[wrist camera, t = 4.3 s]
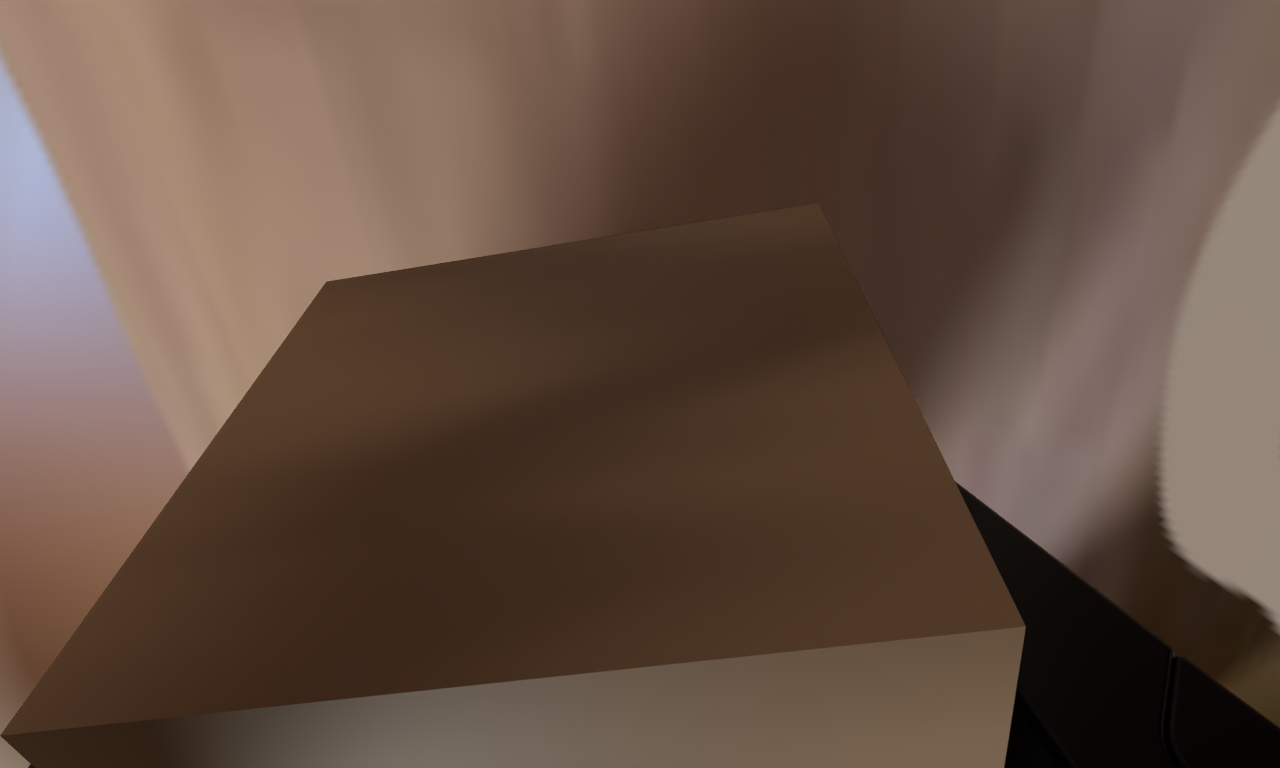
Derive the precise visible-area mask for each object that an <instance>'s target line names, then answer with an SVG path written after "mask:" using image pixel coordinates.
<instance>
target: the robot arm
mask: <svg viewBox="0 0 1280 768" xmlns="http://www.w3.org/2000/svg"><path fill="white" fill-rule="evenodd" d="M955 483H956V485H957V487H958V489H959V491H960V493H961V495H962V497H963V499H964V501H965V503H966V505H967V507H968V509H969V511H970V514H971V516H972V518H973V520H974V522H975V524H976V526H977V528H978V530H979V532H980V534H981V536H982V538H983V540H984V542H985V544H986V546H987V548H988V550H989V552H990V554H991V556H992V558H993V560H994V562H995V565H996V567H997V569H998V571H999V573H1000V575H1001V577H1002V579H1003V581H1004V583H1005V585H1006V587H1007V589H1008V591H1009V593H1010V595H1011V597H1012V599H1013V601H1014V603H1015V605H1016V607H1017V609H1018V611H1019V614H1020V616H1021V618H1022V620H1023V622H1024V624H1025V626H1026V629H1025V636H1024V642H1023V649H1022V655H1021V662H1020V668H1019V674H1018V681H1017V687H1016V694H1015V700H1014V707H1013V713H1012V720H1011V726H1010V733H1009V739H1008V746H1007V752H1006V759H1005V765H1004V768H1280V727H1278V726H1277V725H1275V724H1274V723H1273V722H1271V721H1270V720H1269V719H1267V718H1266V717H1265V716H1263V715H1262V714H1260V713H1259V712H1258V711H1256V710H1255V709H1254V708H1252V707H1251V706H1250V705H1248V704H1247V703H1245V702H1244V701H1243V700H1241V699H1240V698H1239V697H1237V696H1236V695H1234V694H1233V693H1232V692H1230V691H1229V690H1228V689H1226V688H1225V687H1224V686H1222V685H1221V684H1220V683H1218V682H1217V681H1216V680H1215V679H1213V678H1212V677H1211V676H1209V675H1208V674H1207V673H1205V672H1204V671H1203V670H1201V669H1200V668H1199V667H1198V666H1196V665H1195V664H1194V663H1192V662H1191V661H1190V660H1188V659H1187V658H1186V657H1184V656H1181V655H1180V656H1176V657H1175V658H1174V649H1173V648H1172V647H1171V646H1169V645H1168V644H1167V643H1166V642H1164V641H1163V640H1162V639H1160V638H1159V637H1158V636H1156V635H1155V634H1154V633H1153V632H1151V631H1150V630H1149V629H1147V628H1146V627H1145V626H1143V625H1142V624H1141V623H1139V622H1138V621H1137V620H1136V619H1134V618H1133V617H1132V616H1130V615H1129V614H1128V613H1126V612H1125V611H1124V610H1122V609H1121V608H1120V607H1119V606H1117V605H1116V604H1115V603H1113V602H1112V601H1111V600H1109V599H1108V598H1107V597H1105V596H1104V595H1103V594H1102V593H1100V592H1099V591H1098V590H1096V589H1095V588H1094V587H1092V586H1091V585H1090V584H1088V583H1087V582H1086V581H1085V580H1083V579H1082V578H1081V577H1079V576H1078V575H1077V574H1075V573H1074V572H1073V571H1072V570H1070V569H1069V568H1068V567H1066V566H1065V565H1064V564H1062V563H1061V562H1060V561H1058V560H1057V559H1056V558H1055V557H1053V556H1052V555H1051V554H1049V553H1048V552H1047V551H1045V550H1044V549H1043V548H1041V547H1040V546H1039V545H1038V544H1036V543H1035V542H1034V541H1032V540H1031V539H1030V538H1028V537H1027V536H1026V535H1024V534H1023V533H1022V532H1021V531H1019V530H1018V529H1017V528H1015V527H1014V526H1013V525H1011V524H1010V523H1009V522H1007V521H1006V520H1005V519H1004V518H1002V517H1001V516H1000V515H998V514H997V513H996V512H994V511H993V510H992V509H991V508H989V507H988V506H987V505H985V504H984V503H983V502H981V501H980V500H979V499H977V498H976V497H975V496H974V495H972V494H971V493H970V492H968V491H967V490H966V489H964V488H963V487H962V486H960V485H959V484H958V483H957V482H955ZM28 768H35V767H34V766H33V765H32V764H30V765H29V767H28Z"/></svg>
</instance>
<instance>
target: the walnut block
mask: <svg viewBox="0 0 1280 768" xmlns="http://www.w3.org/2000/svg"><path fill="white" fill-rule="evenodd" d="M1025 629H1026V626H1025V624H1024V622H1023V620H1022V618H1021V616H1020V614H1019V611H1018V609H1017V607H1016V605H1015V603H1014V601H1013V599H1012V597H1011V595H1010V593H1009V591H1008V589H1007V587H1006V585H1005V583H1004V581H1003V579H1002V577H1001V575H1000V573H999V571H998V569H997V567H996V565H995V562H994V560H993V558H992V556H991V554H990V552H989V550H988V548H987V546H986V544H985V542H984V540H983V538H982V536H981V534H980V532H979V530H978V528H977V526H976V524H975V522H974V520H973V518H972V516H971V514H970V511H969V509H968V507H967V505H966V503H965V501H964V499H963V497H962V495H961V493H960V491H959V489H958V487H957V485H956V483H955V481H954V479H953V477H952V475H951V473H950V471H949V469H948V467H947V465H946V462H945V460H944V458H943V456H942V454H941V452H940V450H939V448H938V446H937V444H936V442H935V440H934V438H933V436H932V434H931V432H930V430H929V428H928V426H927V424H926V422H925V420H924V418H923V416H922V414H921V411H920V409H919V407H918V405H917V403H916V401H915V399H914V397H913V395H912V393H911V391H910V389H909V387H908V385H907V383H906V381H905V379H904V377H903V375H902V373H901V371H900V369H899V367H898V365H897V362H896V360H895V358H894V356H893V354H892V352H891V350H890V348H889V346H888V344H887V342H886V340H885V338H884V336H883V334H882V332H881V330H880V328H879V326H878V324H877V322H876V320H875V318H874V316H873V313H872V311H871V309H870V307H869V305H868V303H867V301H866V299H865V297H864V295H863V293H862V291H861V289H860V287H859V285H858V283H857V281H856V279H855V277H854V275H853V273H852V271H851V269H850V267H849V265H848V262H847V260H846V258H845V256H844V254H843V252H842V250H841V248H840V246H839V244H838V242H837V240H836V238H835V236H834V234H833V232H832V230H831V228H830V226H829V224H828V222H827V220H826V218H825V216H824V213H823V211H822V209H821V207H820V205H819V203H813V204H807V205H801V206H794V207H788V208H782V209H776V210H770V211H763V212H757V213H751V214H745V215H738V216H732V217H726V218H720V219H714V220H707V221H701V222H695V223H689V224H682V225H676V226H670V227H664V228H658V229H651V230H645V231H639V232H633V233H627V234H620V235H614V236H608V237H602V238H595V239H589V240H583V241H577V242H571V243H564V244H558V245H552V246H546V247H540V248H533V249H527V250H521V251H515V252H508V253H502V254H496V255H490V256H484V257H477V258H471V259H465V260H459V261H452V262H446V263H440V264H434V265H428V266H421V267H415V268H409V269H403V270H397V271H390V272H384V273H378V274H372V275H365V276H359V277H353V278H347V279H341V280H334V281H328V282H326V283H325V284H324V286H323V287H322V289H321V290H320V291H319V293H318V294H317V296H316V297H315V298H314V300H313V301H312V303H311V304H310V305H309V307H308V308H307V310H306V311H305V312H304V314H303V315H302V316H301V318H300V319H299V321H298V322H297V323H296V325H295V326H294V328H293V329H292V330H291V332H290V333H289V335H288V336H287V337H286V339H285V340H284V342H283V343H282V344H281V346H280V347H279V348H278V350H277V351H276V353H275V354H274V355H273V357H272V358H271V360H270V361H269V362H268V364H267V365H266V367H265V368H264V369H263V371H262V372H261V374H260V375H259V376H258V378H257V379H256V380H255V382H254V383H253V385H252V386H251V387H250V389H249V390H248V392H247V393H246V394H245V396H244V397H243V399H242V400H241V401H240V403H239V404H238V406H237V407H236V408H235V410H234V411H233V412H232V414H231V415H230V417H229V418H228V419H227V421H226V422H225V424H224V425H223V426H222V428H221V429H220V431H219V432H218V433H217V435H216V436H215V438H214V439H213V440H212V442H211V443H210V444H209V446H208V447H207V449H206V450H205V451H204V453H203V454H202V456H201V457H200V458H199V460H198V461H197V463H196V464H195V465H194V467H193V468H192V470H191V471H190V472H189V474H188V475H187V476H186V478H185V479H184V481H183V482H182V484H181V485H180V486H179V488H178V489H177V490H176V492H175V493H174V495H173V496H172V497H171V499H170V500H169V502H168V503H167V504H166V506H165V507H164V509H163V510H162V511H161V513H160V514H159V515H158V517H157V518H156V520H155V521H154V522H153V524H152V525H151V527H150V528H149V529H148V531H147V532H146V534H145V535H144V536H143V538H142V539H141V541H140V542H139V543H138V545H137V546H136V548H135V549H134V550H133V552H132V553H131V554H130V556H129V557H128V559H127V560H126V561H125V563H124V564H123V566H122V567H121V568H120V570H119V571H118V573H117V574H116V575H115V577H114V578H113V579H112V581H111V582H110V584H109V585H108V587H107V588H106V589H105V591H104V592H103V594H102V595H101V596H100V598H99V599H98V600H97V602H96V603H95V605H94V606H93V607H92V609H91V610H90V611H89V613H88V614H87V616H86V617H85V619H84V620H83V621H82V623H81V624H80V625H79V627H78V628H77V630H76V631H75V632H74V634H73V635H72V636H71V638H70V640H69V641H68V642H67V643H66V645H65V646H64V648H63V649H62V650H61V652H60V653H59V655H58V656H57V658H56V659H55V660H54V662H53V663H52V664H51V666H50V667H49V668H48V670H47V671H46V673H45V674H44V676H43V677H42V678H41V680H40V681H39V682H38V684H37V685H36V687H35V688H34V689H33V691H32V692H31V694H30V695H29V697H28V698H27V699H26V700H25V702H24V703H23V705H22V706H21V708H20V709H19V710H18V712H17V713H16V714H15V716H14V717H13V719H12V720H11V722H10V723H9V724H8V726H7V727H6V728H5V730H4V731H3V732H2V734H1V737H2V738H3V739H4V740H6V741H7V742H8V743H9V744H10V745H11V746H12V747H13V748H14V749H15V750H16V751H18V752H19V753H20V754H21V755H22V756H23V757H24V758H25V759H26V760H27V761H28V762H29V763H31V764H32V765H33V766H34V767H35V768H1004V765H1005V759H1006V752H1007V746H1008V739H1009V733H1010V726H1011V720H1012V713H1013V707H1014V700H1015V694H1016V687H1017V681H1018V674H1019V668H1020V662H1021V655H1022V649H1023V642H1024V636H1025Z"/></svg>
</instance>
